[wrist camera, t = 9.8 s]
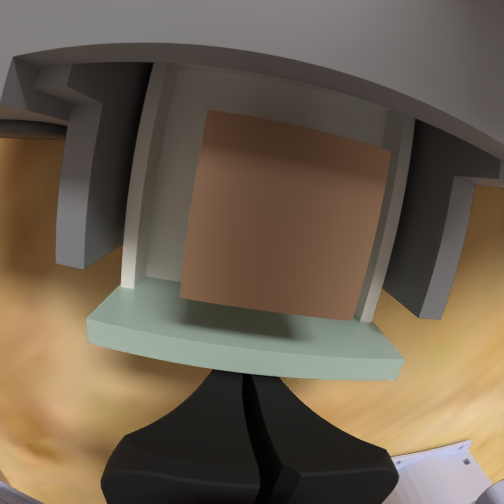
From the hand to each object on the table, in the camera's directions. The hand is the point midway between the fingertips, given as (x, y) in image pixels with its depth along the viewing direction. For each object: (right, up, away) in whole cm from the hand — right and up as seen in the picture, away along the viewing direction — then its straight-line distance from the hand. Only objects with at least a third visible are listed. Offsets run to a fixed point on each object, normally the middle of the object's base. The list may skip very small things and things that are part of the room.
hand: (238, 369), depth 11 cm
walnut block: (+1, +6, 0) cm, 6 cm away
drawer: (+1, +7, +1) cm, 7 cm away
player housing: (-1, +10, +1) cm, 10 cm away
